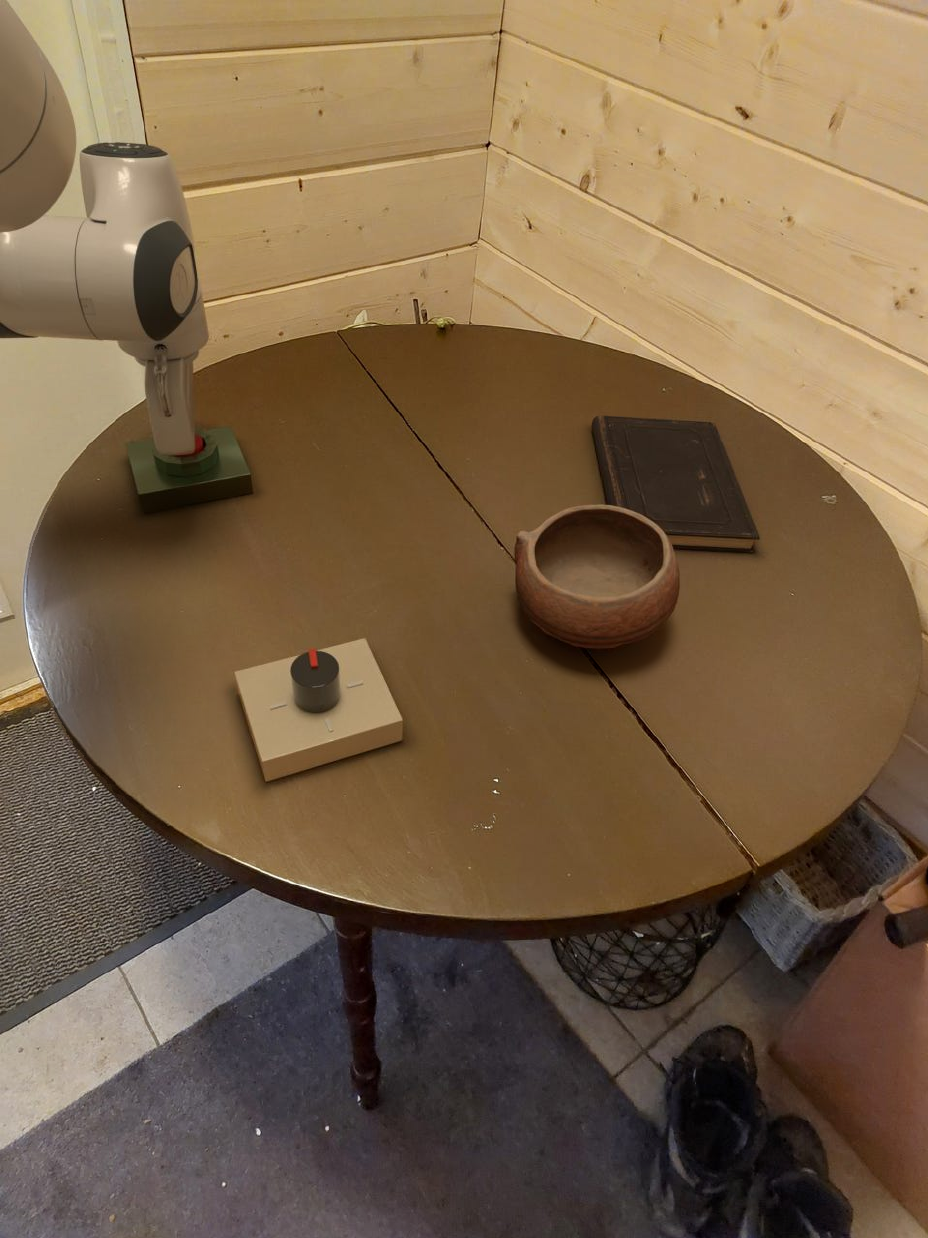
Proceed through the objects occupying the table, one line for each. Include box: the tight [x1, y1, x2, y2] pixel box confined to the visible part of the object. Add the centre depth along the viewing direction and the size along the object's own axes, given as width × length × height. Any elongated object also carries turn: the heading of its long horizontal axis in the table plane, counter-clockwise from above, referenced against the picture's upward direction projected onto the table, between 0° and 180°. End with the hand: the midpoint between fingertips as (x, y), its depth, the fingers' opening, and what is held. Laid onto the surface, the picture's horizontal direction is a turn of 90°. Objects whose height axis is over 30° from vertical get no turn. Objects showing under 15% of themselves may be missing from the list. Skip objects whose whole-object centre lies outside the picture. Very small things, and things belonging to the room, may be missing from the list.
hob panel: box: [234, 637, 404, 783], centre depth 72 cm, size 12×10×3 cm
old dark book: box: [591, 414, 761, 554], centre depth 100 cm, size 16×23×2 cm
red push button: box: [172, 433, 204, 457], centre depth 92 cm, size 4×4×2 cm
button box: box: [125, 425, 254, 515], centre depth 94 cm, size 12×10×4 cm
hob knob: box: [290, 648, 341, 713], centre depth 70 cm, size 4×4×4 cm
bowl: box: [513, 504, 681, 649], centre depth 81 cm, size 16×16×10 cm
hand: (184, 441), depth 92 cm, fingers closed, pressing on red push button
